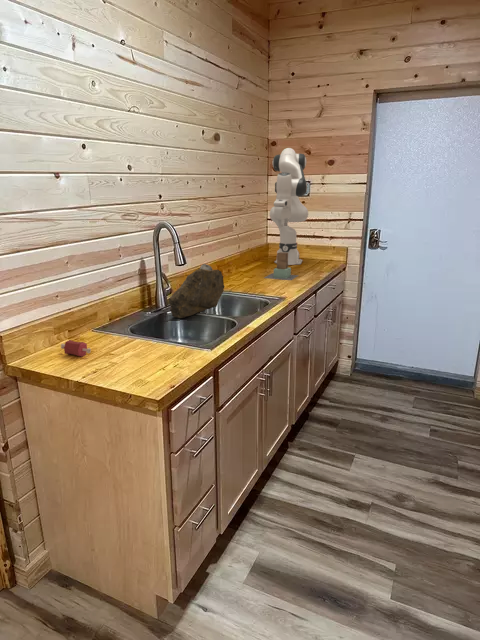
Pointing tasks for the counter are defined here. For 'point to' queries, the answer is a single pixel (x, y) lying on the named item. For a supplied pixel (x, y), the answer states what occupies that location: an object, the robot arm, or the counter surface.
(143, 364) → the counter surface
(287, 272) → the sage brick
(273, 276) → the mat
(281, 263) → the walnut block
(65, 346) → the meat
